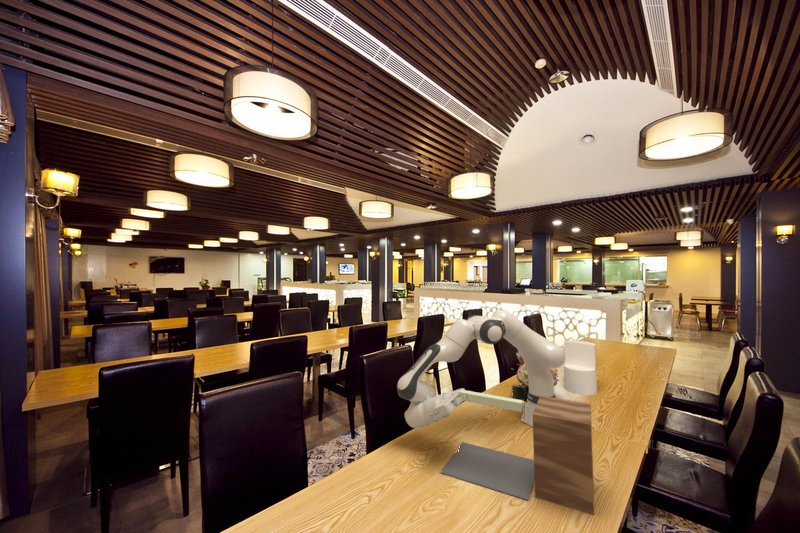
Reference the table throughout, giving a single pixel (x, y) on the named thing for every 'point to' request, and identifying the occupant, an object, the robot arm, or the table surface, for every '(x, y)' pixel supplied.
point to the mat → (492, 470)
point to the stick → (493, 400)
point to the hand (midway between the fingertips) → (468, 395)
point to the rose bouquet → (526, 380)
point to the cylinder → (580, 367)
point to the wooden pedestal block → (563, 453)
